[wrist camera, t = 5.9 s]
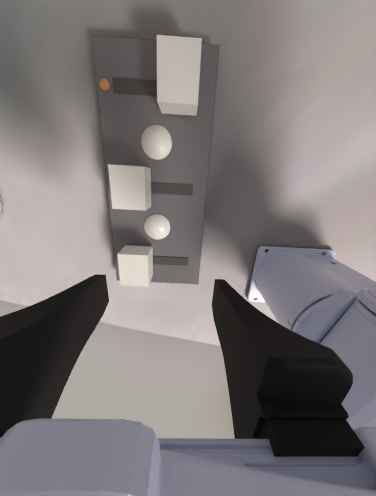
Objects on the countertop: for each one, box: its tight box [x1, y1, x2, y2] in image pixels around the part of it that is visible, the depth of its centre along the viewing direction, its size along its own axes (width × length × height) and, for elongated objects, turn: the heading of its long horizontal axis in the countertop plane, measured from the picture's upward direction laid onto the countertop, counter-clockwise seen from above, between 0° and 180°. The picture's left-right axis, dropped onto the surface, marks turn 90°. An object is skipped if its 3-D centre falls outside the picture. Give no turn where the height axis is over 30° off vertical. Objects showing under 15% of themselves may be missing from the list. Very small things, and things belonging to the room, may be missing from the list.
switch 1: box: [108, 164, 151, 211], centre depth 16 cm, size 3×4×2 cm
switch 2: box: [117, 245, 153, 287], centre depth 19 cm, size 3×4×2 cm
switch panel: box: [91, 35, 220, 284], centre depth 19 cm, size 10×22×2 cm, turn 177°
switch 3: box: [157, 35, 202, 116], centre depth 14 cm, size 3×4×2 cm
